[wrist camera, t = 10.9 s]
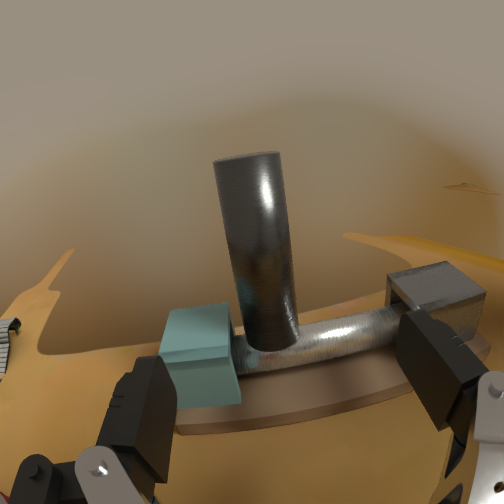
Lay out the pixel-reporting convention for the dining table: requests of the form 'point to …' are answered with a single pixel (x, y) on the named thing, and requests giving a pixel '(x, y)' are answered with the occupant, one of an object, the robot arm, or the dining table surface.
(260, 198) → the slide bolt
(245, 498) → the dining table surface
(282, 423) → the board
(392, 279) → the sleeve
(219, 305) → the socket block
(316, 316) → the dining table surface
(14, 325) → the mat
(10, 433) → the dining table surface
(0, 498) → the canned food
